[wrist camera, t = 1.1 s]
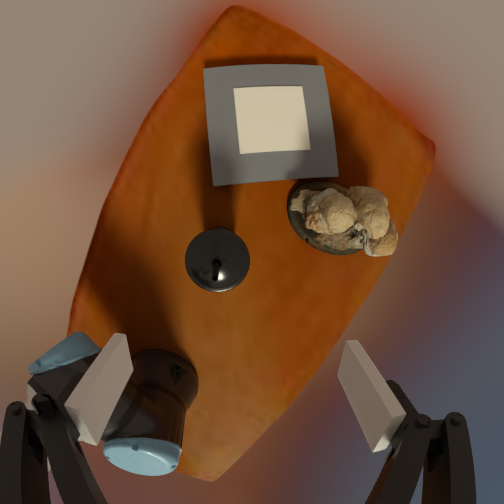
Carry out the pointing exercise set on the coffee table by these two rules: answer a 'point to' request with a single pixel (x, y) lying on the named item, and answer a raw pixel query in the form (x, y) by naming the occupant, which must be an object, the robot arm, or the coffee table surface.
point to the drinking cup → (217, 260)
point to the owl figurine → (342, 219)
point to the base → (269, 123)
